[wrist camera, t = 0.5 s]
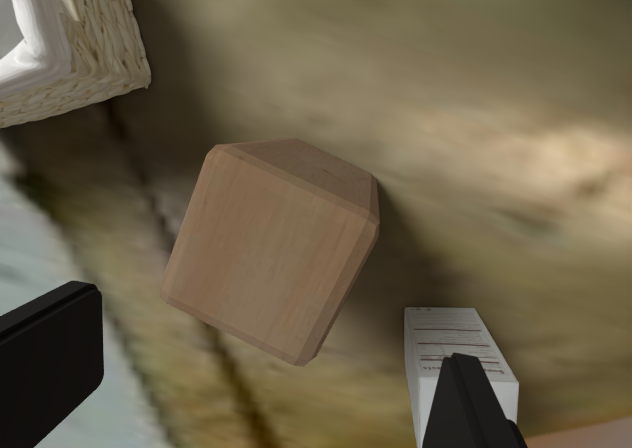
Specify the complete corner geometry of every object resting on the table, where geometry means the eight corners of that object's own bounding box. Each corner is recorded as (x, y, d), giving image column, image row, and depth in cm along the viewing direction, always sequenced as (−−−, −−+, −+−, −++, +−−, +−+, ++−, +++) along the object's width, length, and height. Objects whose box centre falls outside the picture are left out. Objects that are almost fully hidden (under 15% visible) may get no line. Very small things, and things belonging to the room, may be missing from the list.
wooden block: (380, 176, 38) (388, 224, 18) (338, 261, 40) (306, 380, 21) (289, 134, 38) (204, 137, 19) (253, 221, 41) (147, 302, 21)
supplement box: (473, 368, 41) (515, 467, 29) (403, 365, 42) (415, 460, 30) (476, 305, 39) (523, 383, 27) (403, 304, 40) (417, 378, 28)
